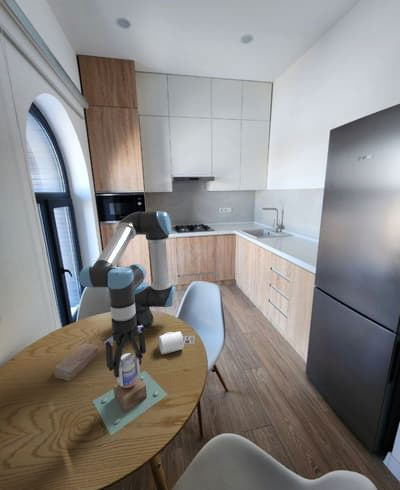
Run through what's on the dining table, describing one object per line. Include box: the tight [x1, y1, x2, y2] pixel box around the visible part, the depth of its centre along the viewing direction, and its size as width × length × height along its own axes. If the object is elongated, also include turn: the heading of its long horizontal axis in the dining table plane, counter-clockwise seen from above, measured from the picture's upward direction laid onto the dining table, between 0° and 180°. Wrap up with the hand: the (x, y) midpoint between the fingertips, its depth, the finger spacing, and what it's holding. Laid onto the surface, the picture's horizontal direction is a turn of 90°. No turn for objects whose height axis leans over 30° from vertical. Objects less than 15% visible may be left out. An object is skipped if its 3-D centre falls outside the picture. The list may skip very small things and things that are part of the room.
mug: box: [158, 331, 185, 355], centre depth 103 cm, size 12×10×8 cm
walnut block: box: [113, 375, 147, 413], centre depth 75 cm, size 8×8×5 cm
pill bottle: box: [120, 352, 136, 388], centre depth 74 cm, size 5×5×10 cm
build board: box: [92, 370, 168, 437], centre depth 75 cm, size 20×16×2 cm
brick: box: [53, 343, 100, 381], centre depth 93 cm, size 17×8×5 cm, turn 165°
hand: (129, 378), depth 74 cm, fingers closed on pill bottle, 5 cm apart
